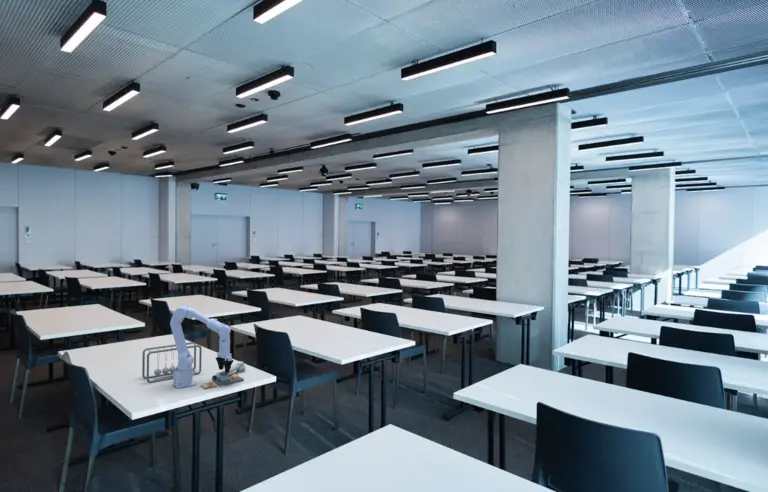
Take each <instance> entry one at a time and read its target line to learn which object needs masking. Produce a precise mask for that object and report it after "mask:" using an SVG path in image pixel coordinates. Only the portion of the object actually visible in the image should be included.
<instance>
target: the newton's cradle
mask: <svg viewBox="0 0 768 492" xmlns="http://www.w3.org/2000/svg"><path fill="white" fill-rule="evenodd" d="M186 345H187V349H188V350H189V349H193V359H194V361H193V376H196V375H200V374H201V373H202V346H201V345H200V344H197V343H196V342H193V341H191V342H186ZM197 348H199V356H198V357H199V358H198V361H199V365H198V368H199V369H198V371H197V372H196V371H195V370H196V367H197ZM152 350H153V351H152ZM146 351H148V353H147V355H146V354H145V353H146ZM174 351H177V347H176V344H170V345H168V344H167V345H161V346H154V347H145V348H144V349H143V351H142V372H141V374H142V376H141V377H142V378H143V379H145V380H146V382H147V383H148V384H152V383H157V382H158V383H159V382H162V381H169V380H173V376H172V375H174V371H176V370H178V369H179V368H178V365H177V366H174V364H171V366H170V367H167V364H164V367H162V370H161V369H160V368H159V365H160V364H159V363H160V362H157V368H156V369H155V370H154V371H153V373H154V375H150V355H152V354H157V361H159V357H160V355H161V353H163V352H164V353H167V352H174ZM158 353H159V354H158ZM145 355H146V356H145ZM145 357H146V359H145ZM174 357H175V354H172V359H174ZM167 358H168V355H165V361H167V360H168V359H167ZM145 360H146V361H145ZM145 362H146V363H145ZM145 364H146V365H145ZM145 369H146V374H145ZM145 375H146V376H145ZM170 375H171V376H170ZM165 376H170V377H165ZM158 377H165V378H160V379H154V380H153V378H158ZM151 379H152V380H151Z"/></svg>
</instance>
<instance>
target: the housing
mask: <svg viewBox="0 0 768 492" xmlns="http://www.w3.org/2000/svg"><path fill="white" fill-rule="evenodd" d="M244 381H245V378H243V377H241V376H240V375H238V379H234V380H233V379H232V376H228V382H223V383H220V379H218V380H214V381H213V382H214V383H216V384H218V387H223V386H222V385H225V386H228V384H229V385H232V384H238V383H242V382H244Z"/></svg>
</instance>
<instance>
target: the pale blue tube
mask: <svg viewBox="0 0 768 492" xmlns="http://www.w3.org/2000/svg"><path fill="white" fill-rule="evenodd" d="M235 371H236V373H237V374H239V373H244V372H245V371H246V364H245V362H244V361H241V360H239V361H238V362H236V364H234V365H231V368H230V371H229V374H228V376H229V375H230V374H232V373H234V372H235ZM220 372H225V369H222V371H221V370H220V371H219V372H217V373H215V374H213V375H212V376H211V380H212V382H214V380H218V379H220Z"/></svg>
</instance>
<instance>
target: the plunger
mask: <svg viewBox="0 0 768 492" xmlns="http://www.w3.org/2000/svg"><path fill="white" fill-rule="evenodd" d="M238 374H239V373H237V374H236V373H233V374H232V375H231V377H232V379H233V380H234V379H238V376H239V375H238Z"/></svg>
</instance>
